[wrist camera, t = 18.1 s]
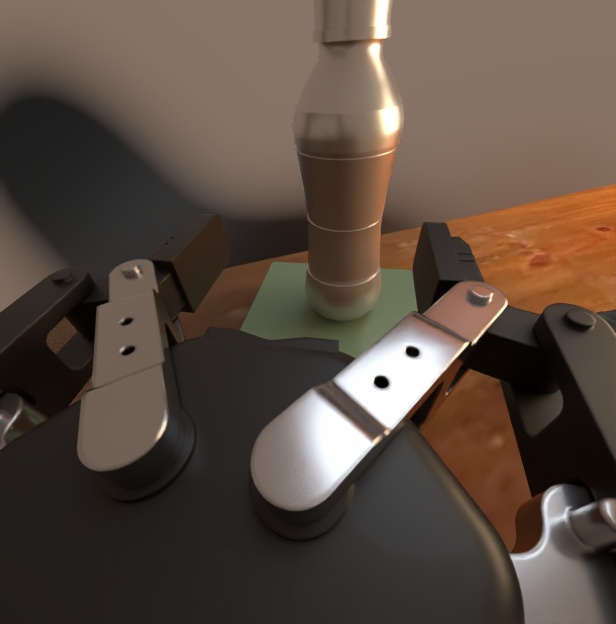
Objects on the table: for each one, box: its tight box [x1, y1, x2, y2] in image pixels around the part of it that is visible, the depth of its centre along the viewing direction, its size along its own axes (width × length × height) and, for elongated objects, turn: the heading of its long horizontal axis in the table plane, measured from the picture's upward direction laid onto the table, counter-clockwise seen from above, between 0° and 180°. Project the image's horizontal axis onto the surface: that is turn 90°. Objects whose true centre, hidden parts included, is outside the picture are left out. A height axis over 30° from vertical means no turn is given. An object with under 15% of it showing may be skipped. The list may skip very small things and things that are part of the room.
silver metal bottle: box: [292, 0, 404, 321], centre depth 20 cm, size 6×7×20 cm
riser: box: [240, 262, 418, 358], centre depth 29 cm, size 17×13×4 cm
